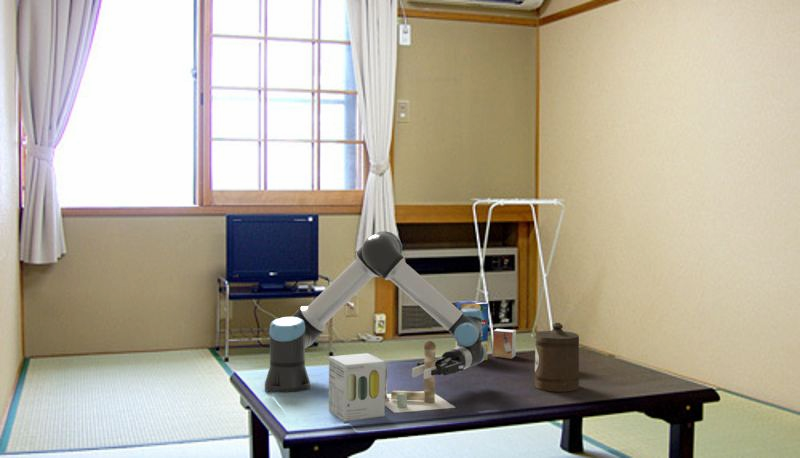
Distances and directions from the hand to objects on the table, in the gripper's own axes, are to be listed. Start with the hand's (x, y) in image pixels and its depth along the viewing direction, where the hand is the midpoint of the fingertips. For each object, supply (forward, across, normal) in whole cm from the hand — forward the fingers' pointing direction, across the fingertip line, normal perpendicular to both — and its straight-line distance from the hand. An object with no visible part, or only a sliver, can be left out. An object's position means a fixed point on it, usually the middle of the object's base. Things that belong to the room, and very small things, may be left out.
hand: (418, 373), depth 282 cm
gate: (-4, +5, -10) cm, 12 cm away
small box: (-85, +12, -11) cm, 86 cm away
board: (-5, +5, -11) cm, 13 cm away
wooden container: (-51, -24, -11) cm, 57 cm away
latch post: (+3, +4, -10) cm, 11 cm away
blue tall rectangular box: (-74, +21, -11) cm, 78 cm away
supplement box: (+17, +12, -11) cm, 23 cm away
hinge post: (0, +14, -10) cm, 17 cm away
